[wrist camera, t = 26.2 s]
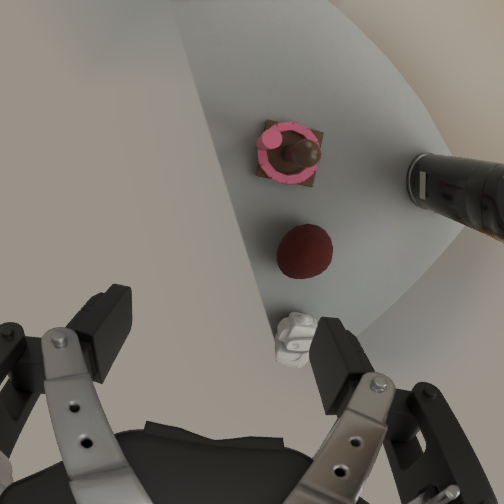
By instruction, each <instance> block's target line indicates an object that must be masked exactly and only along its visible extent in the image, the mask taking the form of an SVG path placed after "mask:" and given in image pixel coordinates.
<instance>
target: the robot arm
mask: <svg viewBox="0 0 504 504" xmlns="http://www.w3.org/2000/svg"><path fill="white" fill-rule="evenodd" d="M407 188H408V192H409V195H410V197H411V199H412V200H413V201H414V203H415V204H416V205H418V206H419V207H421V208H424V209H427V210H430V211H433V212H435V213H438V214H440V215H442V216H445V217H447V218H450V219H452V220H454V221H457V222H459V223H461V224H464V225H466V226H468V227H470V228H473V229H475V230H477V231H479V232H481V233H484V234H486V235H488V236H490V237H492V238H494V239H496V240H498V241H501V242H503V243H504V164H501V163H496V162H490V161H483V160H475V159H469V158H462V157H453V156H444V155H435V154H431V153H424V154H421V155H419V156H418V157H416V158H415V159H414V160H413V162H412V163H411V165H410V167H409V170H408V174H407ZM131 326H132V291H131V288H130V287H128V286H123V285H118V284H112V286H111V287H110V288H109V289H108V290H107V291H106V292H105V293H102V292H101V293H99V294H97V295H95V296H93V297H91V298H90V299H89V300H88V301H87V303H86V305H84V306H83V307H82V308H81V311H79V312H78V313H77V314H76V315H75V316H74V318H73V319H72V320H71V321H70V322H69V323H68V324H67V326H66V327H65V328H64V327H57V328H53V329H50V330H48V331H47V332H46V333H45V334H44V335H43V337H42V338H38V337H28V336H25V334H24V330H23V328H22V326H21V325H19V324H17V323H14V322H7V323H3V324H1V325H0V385H1V383H2V382H3V380H4V379H5V377H6V375H7V374H8V377H9V379H8V381H7V382H6V384H5V385H4V387H3V388H2V390H1V391H0V504H369V503H368V502H366V501H365V500H364V499H363V498H361V497H360V496H359V495H360V493H361V491H362V489H363V487H364V485H365V483H366V481H367V479H368V477H369V474H370V472H371V470H372V468H373V465H374V463H375V460H376V458H377V456H378V453H379V451H380V448H381V446H382V443H383V445H384V448H385V451H386V454H387V457H388V460H389V463H390V467H391V470H392V473H393V476H394V479H395V483H396V486H397V489H398V493H399V496H400V500H401V503H402V504H498V502H497V499H496V497H495V495H494V492H493V490H492V488H491V486H490V483H489V481H488V479H487V477H486V474H485V473H484V470H483V468H482V466H481V464H480V462H479V460H478V458H477V456H476V454H475V452H474V450H473V448H472V446H471V445H470V442H469V440H468V439H467V437H466V435H465V433H464V431H463V430H462V428H461V426H460V424H459V422H458V420H457V419H456V417H455V415H454V413H453V412H452V410H451V408H450V407H449V405H448V403H447V402H446V400H445V398H444V396H443V395H442V393H441V392H440V390H439V389H438V388H437V387H435V386H434V385H432V384H430V383H427V382H419V383H417V384H416V385H415V386H414V388H413V389H412V391H407V390H401V389H396V388H395V385H394V383H393V382H392V380H391V379H390V378H388V377H387V376H385V375H383V374H381V373H378V372H375V371H374V369H373V367H372V365H371V363H370V361H369V359H368V357H367V356H366V354H365V353H364V350H363V348H362V347H361V345H360V343H359V341H358V339H357V338H356V337H355V336H354V335H353V334H352V333H351V332H350V331H349V330H345V328H344V326H343V324H342V323H341V321H340V319H339V318H331V317H321V318H320V320H319V322H318V325H317V328H316V331H315V334H314V337H313V339H312V342H311V345H310V349H309V359H310V363H311V366H312V369H313V373H314V376H315V379H316V383H317V386H318V389H319V393H320V396H321V399H322V403H323V407H324V410H325V414H326V415H337V417H338V419H337V420H336V422H335V423H334V425H333V427H332V428H331V430H330V432H329V433H328V435H327V436H326V438H325V440H324V441H323V443H322V444H321V446H320V447H319V449H318V450H317V452H316V453H315V455H314V456H313V457H312V458H310V457H309V456H307V455H305V454H303V453H301V452H299V451H297V450H294V449H291V448H287V447H284V443H283V438H272V437H253V436H250V437H242V438H233V439H223V440H212V439H209V438H206V437H203V436H200V435H198V434H195V433H192V432H190V431H187V430H184V429H182V428H178V427H173V426H168V425H163V424H158V423H154V422H150V421H146V424H145V427H144V429H139V430H138V429H137V430H128V431H123V432H119V433H116V434H113V431H112V429H111V427H110V425H109V422H108V420H107V418H106V415H105V413H104V411H103V408H102V406H101V403H100V401H99V398H98V395H97V393H96V390H95V387H94V385H93V382H92V381H95V382H98V383H101V384H103V382H104V380H105V378H106V376H107V374H108V372H109V370H110V368H111V366H112V364H113V362H114V360H115V358H116V357H117V355H118V353H119V351H120V349H121V347H122V345H123V343H124V342H125V340H126V338H127V336H128V334H129V332H130V330H131ZM40 394H46V398H47V404H48V408H49V413H50V417H51V421H52V425H53V429H54V433H55V436H56V440H57V444H58V447H59V450H60V453H61V457H62V459H63V461H61V462H59V463H56V464H54V465H53V466H50V467H48V468H46V469H44V470H42V471H39V472H37V473H35V474H33V475H30V476H28V477H25V478H23V479H21V480H18V481H16V482H14V483H13V477H12V466H11V463H10V461H9V457H10V455H11V453H12V450H13V448H14V446H15V443H16V441H17V439H18V437H19V434H20V433H21V431H22V429H23V427H24V425H25V423H26V421H27V419H28V417H29V415H30V413H31V411H32V409H33V407H34V405H35V403H36V401H37V399H38V398H39V396H40ZM420 430H421V432H422V434H423V437H424V439H425V441H426V449H425V452H424V453H423V451H422V448H421V446H420V444H419V441H418V439H417V437H416V434H417V433H418V432H419V431H420Z"/></svg>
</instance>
